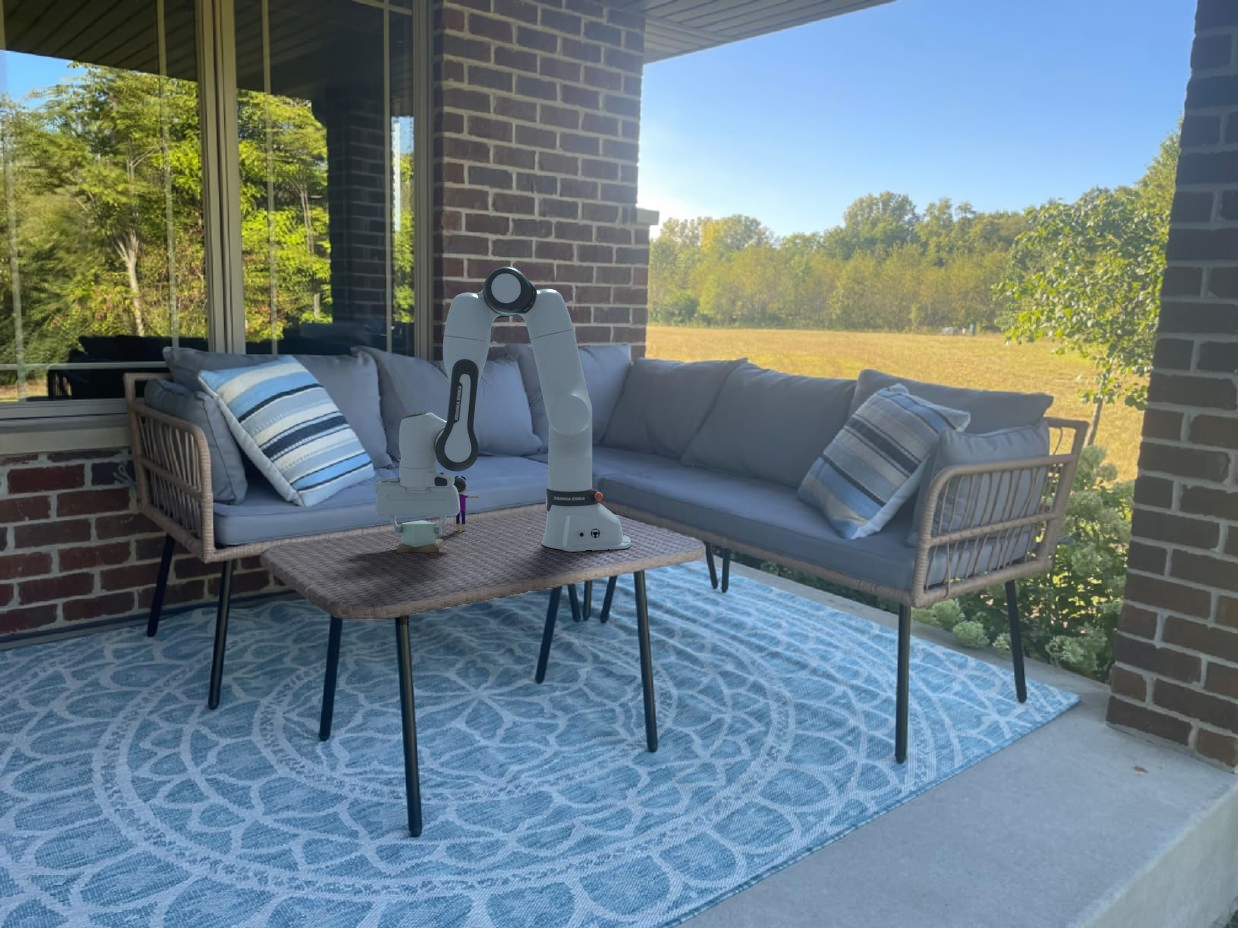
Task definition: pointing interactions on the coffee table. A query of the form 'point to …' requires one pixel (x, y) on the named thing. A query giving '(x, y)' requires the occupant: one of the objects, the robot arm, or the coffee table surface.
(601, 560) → the coffee table surface
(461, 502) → the toy
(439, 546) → the stand
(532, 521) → the coffee table surface
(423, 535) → the pale aqua cube
